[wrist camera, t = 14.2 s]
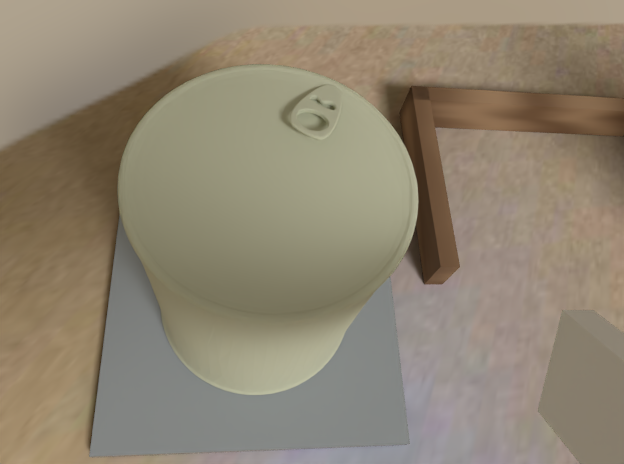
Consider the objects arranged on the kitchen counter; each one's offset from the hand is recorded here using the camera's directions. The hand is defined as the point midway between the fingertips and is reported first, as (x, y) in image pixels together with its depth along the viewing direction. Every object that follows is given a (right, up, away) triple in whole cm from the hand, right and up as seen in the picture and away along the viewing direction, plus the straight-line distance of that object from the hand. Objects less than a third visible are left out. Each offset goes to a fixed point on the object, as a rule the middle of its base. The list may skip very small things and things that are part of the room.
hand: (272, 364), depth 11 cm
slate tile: (-2, -1, +15) cm, 16 cm away
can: (-2, -1, +15) cm, 15 cm away
